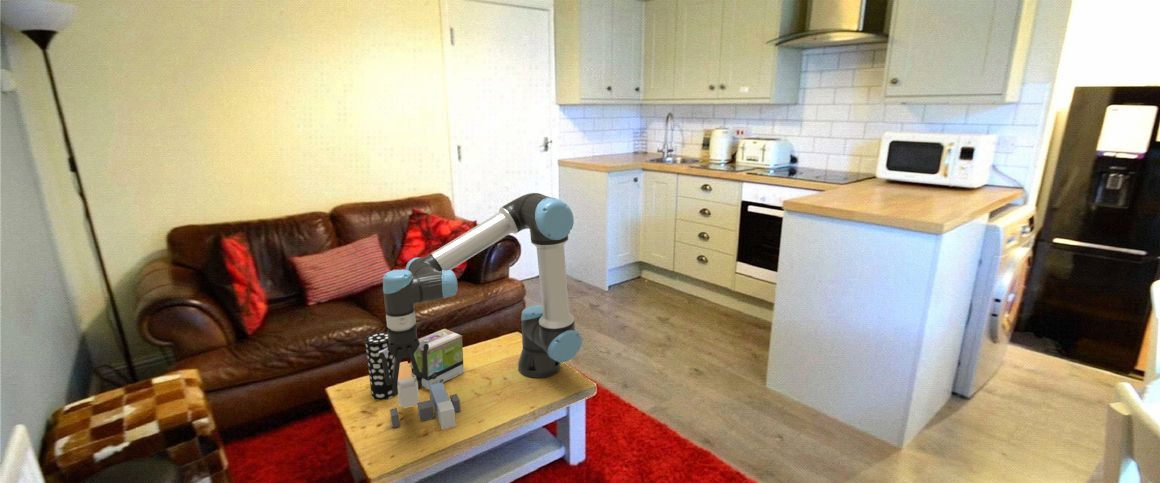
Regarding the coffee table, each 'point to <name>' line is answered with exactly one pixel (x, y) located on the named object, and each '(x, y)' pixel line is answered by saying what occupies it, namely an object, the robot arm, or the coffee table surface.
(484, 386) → the coffee table surface
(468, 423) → the coffee table surface
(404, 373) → the white-capped orange post
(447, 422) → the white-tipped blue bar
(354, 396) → the coffee table surface
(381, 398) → the spotted tube
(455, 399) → the grey blocks
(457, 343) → the tea box
